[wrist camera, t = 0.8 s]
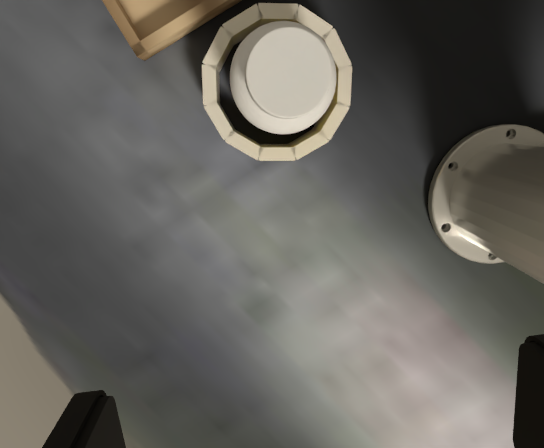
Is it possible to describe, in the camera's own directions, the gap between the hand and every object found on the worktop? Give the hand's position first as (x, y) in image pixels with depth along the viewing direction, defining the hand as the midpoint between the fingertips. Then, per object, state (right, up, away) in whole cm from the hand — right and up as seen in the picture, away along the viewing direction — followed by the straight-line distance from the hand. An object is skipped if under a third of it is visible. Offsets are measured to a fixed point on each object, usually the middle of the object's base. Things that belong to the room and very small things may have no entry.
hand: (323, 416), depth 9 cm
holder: (-1, +16, +25) cm, 29 cm away
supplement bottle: (-1, +16, +25) cm, 30 cm away
